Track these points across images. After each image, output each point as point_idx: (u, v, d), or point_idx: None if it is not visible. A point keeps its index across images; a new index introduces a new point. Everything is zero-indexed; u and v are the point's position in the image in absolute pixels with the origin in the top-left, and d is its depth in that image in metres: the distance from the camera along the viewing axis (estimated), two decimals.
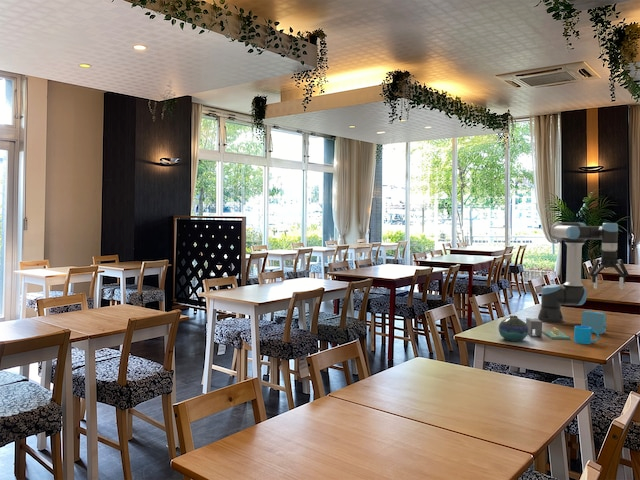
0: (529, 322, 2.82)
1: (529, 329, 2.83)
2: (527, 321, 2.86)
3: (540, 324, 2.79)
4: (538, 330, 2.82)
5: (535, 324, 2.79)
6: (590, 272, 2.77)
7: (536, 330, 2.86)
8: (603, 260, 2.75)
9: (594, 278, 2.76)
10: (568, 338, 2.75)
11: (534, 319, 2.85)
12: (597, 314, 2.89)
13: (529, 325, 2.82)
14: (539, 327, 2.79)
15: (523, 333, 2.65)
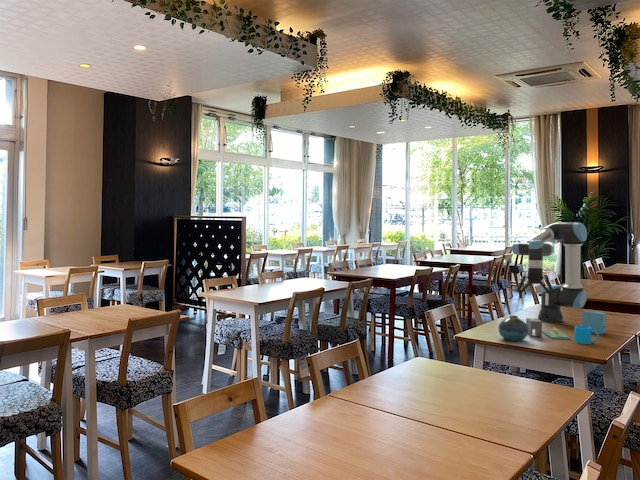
0: (529, 322, 2.82)
1: (529, 329, 2.83)
2: (527, 321, 2.86)
3: (540, 324, 2.79)
4: (538, 330, 2.82)
5: (535, 324, 2.79)
6: (517, 288, 2.84)
7: (536, 330, 2.86)
8: (529, 276, 2.82)
9: (520, 294, 2.83)
10: (568, 338, 2.75)
11: (534, 319, 2.85)
12: (597, 314, 2.89)
13: (529, 325, 2.82)
14: (539, 327, 2.79)
15: (523, 333, 2.65)
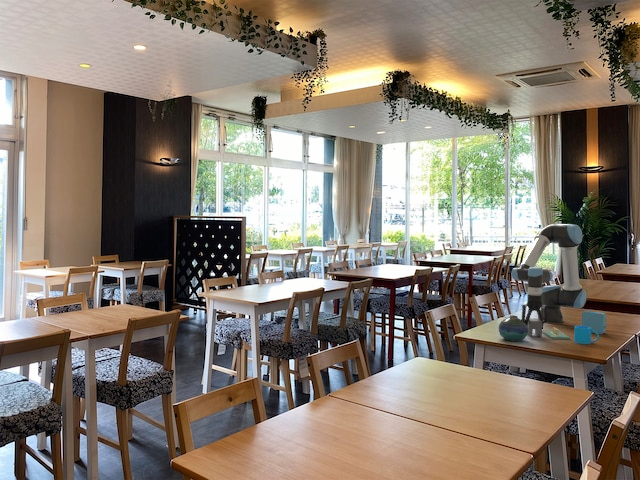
0: (529, 322, 2.82)
1: (529, 329, 2.83)
2: None
3: (540, 324, 2.79)
4: (538, 330, 2.82)
5: (536, 324, 2.79)
6: (522, 319, 2.85)
7: (536, 330, 2.86)
8: (528, 304, 2.83)
9: None
10: (568, 338, 2.75)
11: (534, 319, 2.85)
12: (597, 314, 2.89)
13: (529, 325, 2.82)
14: (539, 327, 2.79)
15: (523, 333, 2.65)
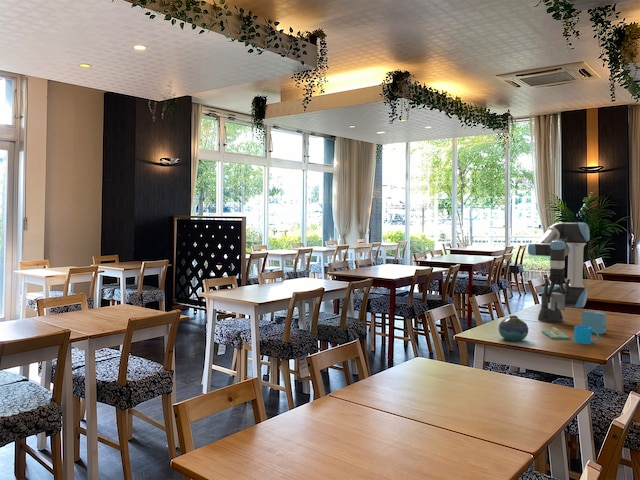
0: (552, 296, 2.80)
1: None
2: None
3: (563, 297, 2.77)
4: (561, 304, 2.80)
5: (558, 298, 2.77)
6: (544, 292, 2.83)
7: (558, 304, 2.84)
8: (551, 277, 2.81)
9: (548, 298, 2.82)
10: (568, 338, 2.75)
11: (556, 293, 2.83)
12: (597, 314, 2.89)
13: (552, 298, 2.80)
14: (562, 300, 2.77)
15: (523, 333, 2.65)
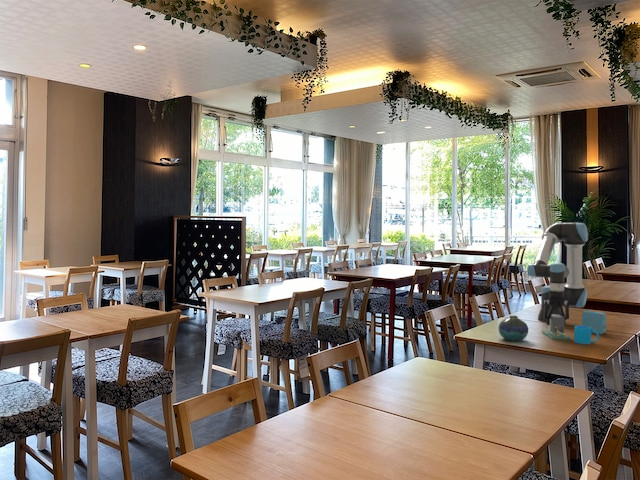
0: (552, 318, 2.81)
1: (551, 325, 2.81)
2: None
3: (562, 320, 2.78)
4: (560, 326, 2.81)
5: (558, 320, 2.78)
6: (543, 315, 2.83)
7: (558, 326, 2.84)
8: (550, 300, 2.81)
9: (548, 320, 2.82)
10: (568, 338, 2.75)
11: (556, 315, 2.83)
12: (597, 314, 2.89)
13: (551, 321, 2.81)
14: (561, 323, 2.78)
15: (523, 333, 2.65)
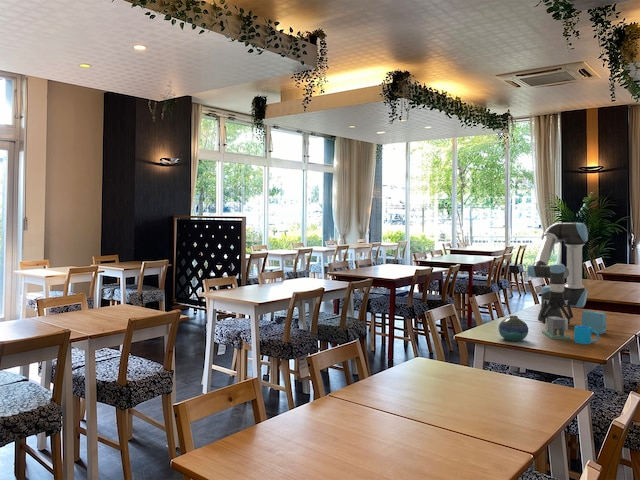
0: (551, 320, 2.81)
1: (551, 327, 2.81)
2: (549, 319, 2.85)
3: (562, 322, 2.78)
4: (560, 328, 2.81)
5: (558, 323, 2.78)
6: (540, 313, 2.83)
7: (558, 328, 2.85)
8: (550, 300, 2.81)
9: (544, 319, 2.83)
10: (568, 338, 2.75)
11: (556, 317, 2.83)
12: (597, 314, 2.89)
13: (551, 323, 2.81)
14: (561, 325, 2.78)
15: (523, 333, 2.65)
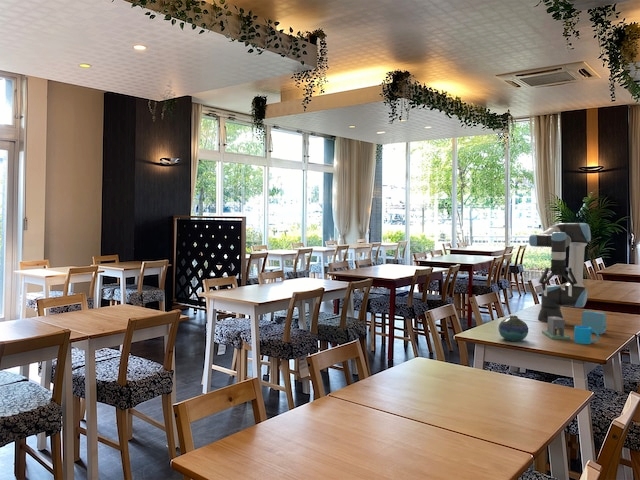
0: (551, 320, 2.81)
1: (551, 327, 2.81)
2: (549, 319, 2.85)
3: (562, 322, 2.78)
4: (560, 328, 2.81)
5: (558, 323, 2.78)
6: (540, 280, 2.86)
7: (558, 328, 2.85)
8: (552, 268, 2.84)
9: (544, 286, 2.85)
10: (568, 338, 2.75)
11: (556, 317, 2.83)
12: (597, 314, 2.89)
13: (551, 323, 2.81)
14: (561, 325, 2.78)
15: (523, 333, 2.65)
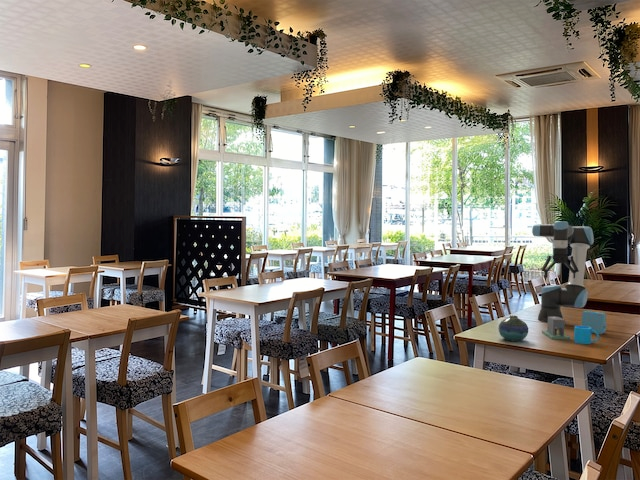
0: (551, 320, 2.81)
1: (551, 327, 2.81)
2: (549, 319, 2.85)
3: (562, 322, 2.78)
4: (560, 328, 2.81)
5: (558, 323, 2.78)
6: (542, 268, 2.92)
7: (558, 328, 2.85)
8: (554, 256, 2.90)
9: (546, 273, 2.91)
10: (568, 338, 2.75)
11: (556, 317, 2.83)
12: (597, 314, 2.89)
13: (551, 323, 2.81)
14: (561, 325, 2.78)
15: (523, 333, 2.65)
